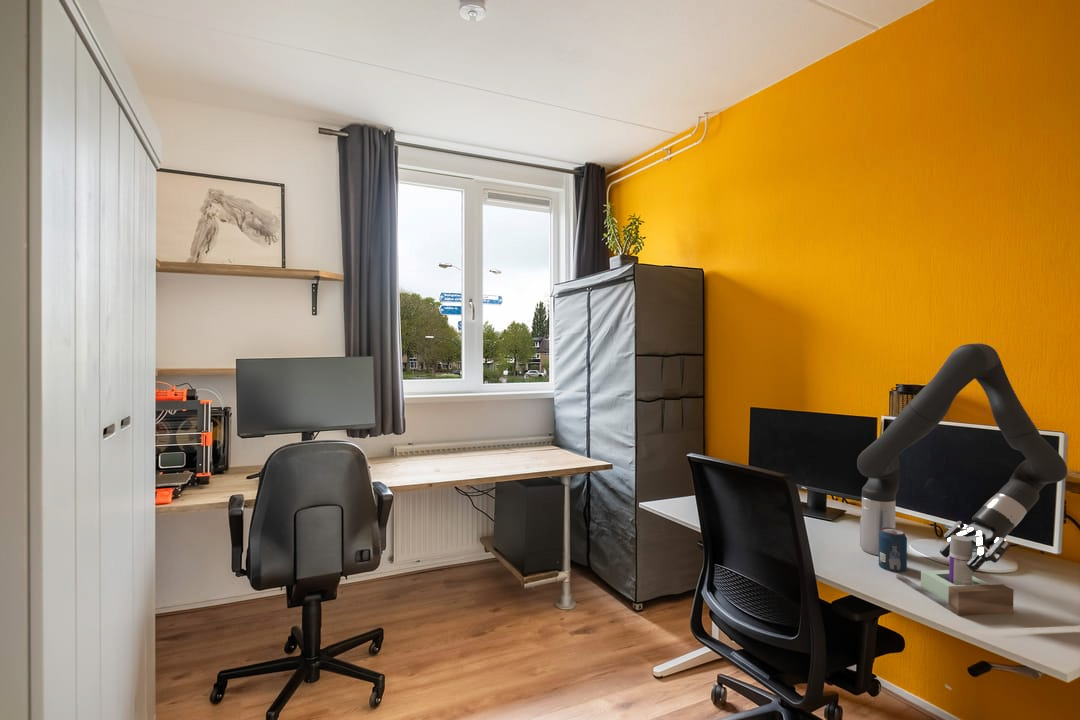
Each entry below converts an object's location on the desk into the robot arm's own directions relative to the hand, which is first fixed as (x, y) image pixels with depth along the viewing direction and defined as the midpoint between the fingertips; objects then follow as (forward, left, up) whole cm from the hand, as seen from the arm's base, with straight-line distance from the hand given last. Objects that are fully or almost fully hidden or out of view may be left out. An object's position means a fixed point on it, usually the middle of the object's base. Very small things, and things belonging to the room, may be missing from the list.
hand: (955, 561), depth 140 cm
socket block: (-1, +1, -10) cm, 10 cm away
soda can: (-21, -2, -11) cm, 24 cm away
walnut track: (-2, +1, -11) cm, 11 cm away
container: (0, +2, -9) cm, 9 cm away
